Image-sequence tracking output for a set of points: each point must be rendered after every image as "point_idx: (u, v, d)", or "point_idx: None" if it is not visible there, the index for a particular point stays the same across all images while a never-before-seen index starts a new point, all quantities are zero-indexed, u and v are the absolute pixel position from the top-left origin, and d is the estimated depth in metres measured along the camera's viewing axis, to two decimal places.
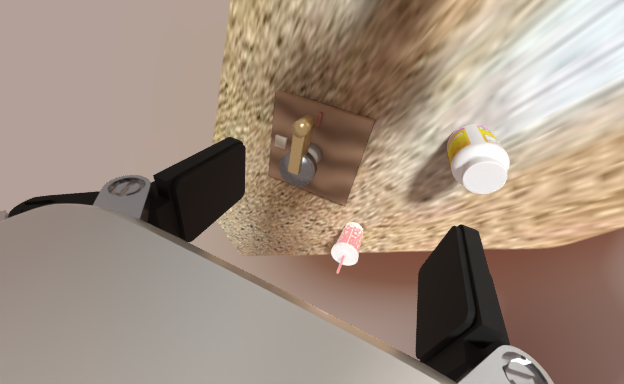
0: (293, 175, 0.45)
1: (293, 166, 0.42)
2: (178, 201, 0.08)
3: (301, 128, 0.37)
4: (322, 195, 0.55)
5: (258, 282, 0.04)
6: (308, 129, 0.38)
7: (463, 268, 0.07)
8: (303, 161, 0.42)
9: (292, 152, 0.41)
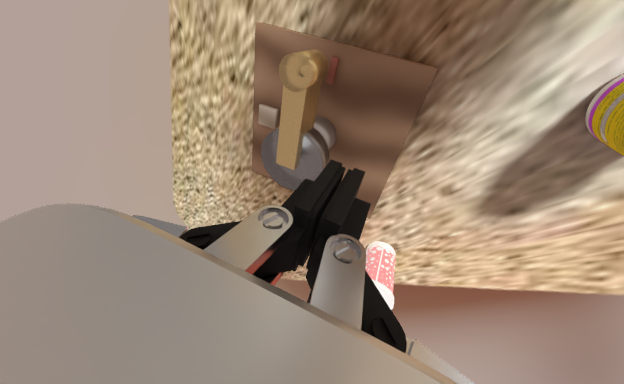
0: (286, 170, 0.25)
1: (285, 153, 0.22)
2: (311, 230, 0.08)
3: (300, 69, 0.17)
4: None
5: (258, 282, 0.04)
6: (314, 73, 0.18)
7: (336, 192, 0.09)
8: (305, 143, 0.22)
9: (283, 125, 0.21)
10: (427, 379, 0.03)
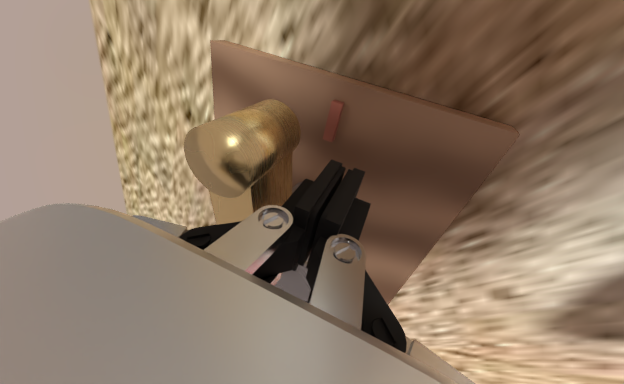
0: None
1: None
2: (311, 230, 0.08)
3: (224, 157, 0.08)
4: None
5: (258, 282, 0.04)
6: (263, 157, 0.08)
7: (336, 192, 0.09)
8: None
9: None
10: (427, 379, 0.03)
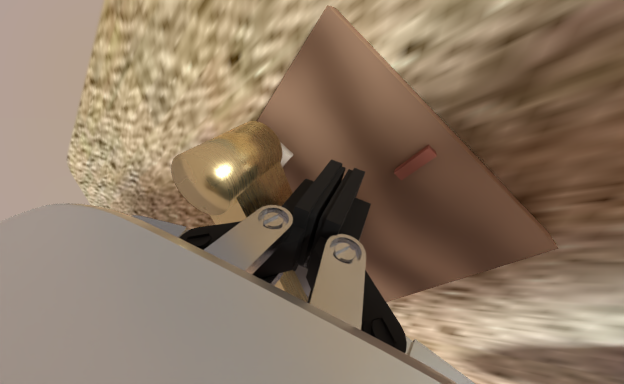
0: None
1: None
2: (311, 230, 0.08)
3: (202, 176, 0.08)
4: None
5: (258, 282, 0.04)
6: (238, 166, 0.09)
7: (336, 192, 0.09)
8: (300, 273, 0.12)
9: None
10: (427, 379, 0.03)
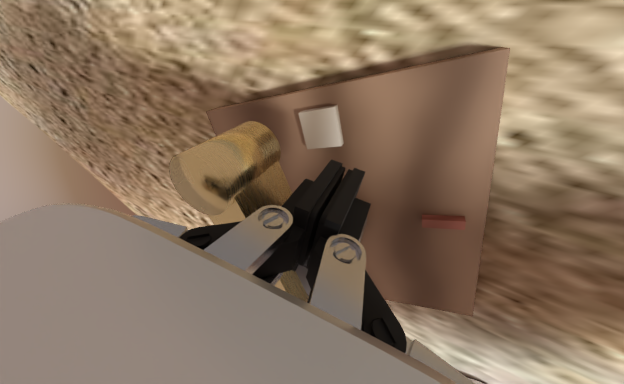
0: None
1: None
2: (311, 230, 0.08)
3: (199, 176, 0.08)
4: None
5: (258, 282, 0.04)
6: (235, 165, 0.09)
7: (336, 192, 0.09)
8: (301, 272, 0.12)
9: None
10: (427, 379, 0.03)
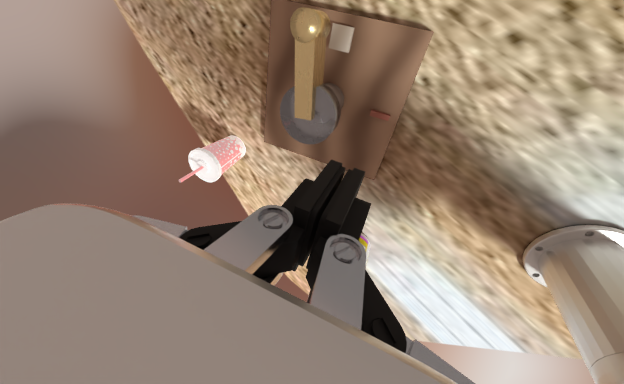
0: (304, 126, 0.28)
1: (302, 106, 0.26)
2: (311, 230, 0.08)
3: (307, 20, 0.21)
4: (267, 111, 0.38)
5: (258, 282, 0.04)
6: (320, 24, 0.21)
7: (336, 192, 0.09)
8: (318, 94, 0.25)
9: (297, 78, 0.24)
10: (427, 379, 0.03)
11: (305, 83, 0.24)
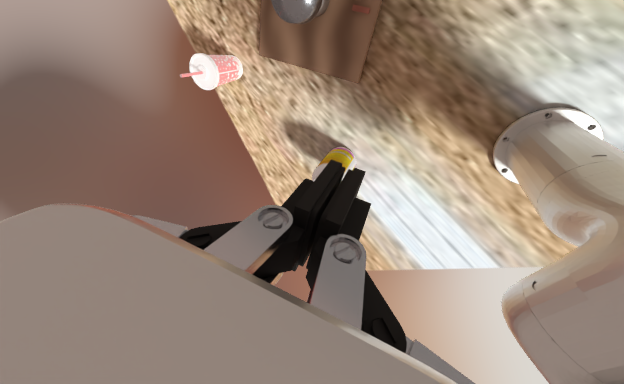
0: (291, 2, 0.32)
1: None
2: (311, 230, 0.08)
3: None
4: (262, 20, 0.42)
5: (258, 282, 0.04)
6: None
7: (336, 192, 0.09)
8: None
9: None
10: (427, 379, 0.03)
11: None
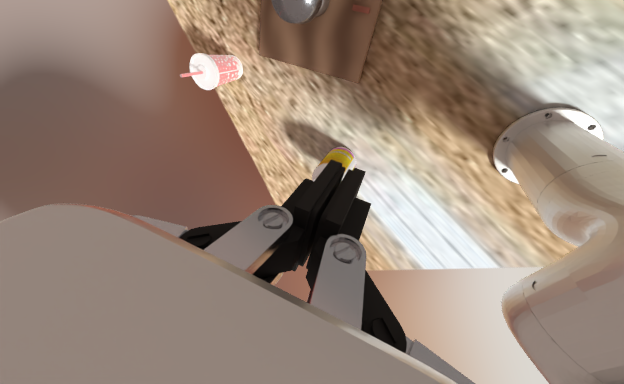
0: (291, 2, 0.32)
1: None
2: (311, 230, 0.08)
3: None
4: (262, 20, 0.42)
5: (258, 282, 0.04)
6: None
7: (336, 192, 0.09)
8: None
9: None
10: (427, 379, 0.03)
11: None
